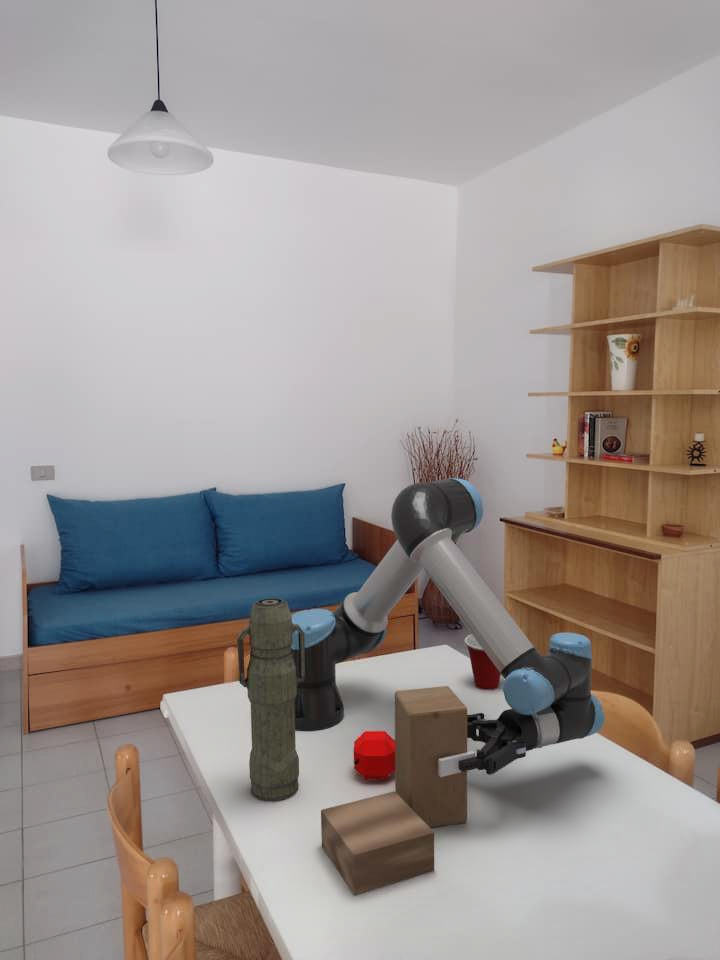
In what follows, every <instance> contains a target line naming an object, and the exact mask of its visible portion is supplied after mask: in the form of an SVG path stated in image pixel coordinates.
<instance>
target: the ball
mask: <svg viewBox="0 0 720 960" xmlns="http://www.w3.org/2000/svg"><path fill="white" fill-rule="evenodd" d="M353 765H354V766H353V770H355V771H356V772H357V773H358V774H359V775H360V776H361V777H362V778H363V779H364V780H387V779H388V778H389V777H390V776H391V775H392V774H393V773H394V772H395V738H393V737H392V735H390V734H389V733H388V732H387V731H385V730H365V731H363V732H362V733H361V734H360V735H359V736H358V737H357V738H356V739H355V740H354V742H353Z"/></svg>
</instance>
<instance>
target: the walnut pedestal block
mask: <svg viewBox="0 0 720 960" xmlns="http://www.w3.org/2000/svg"><path fill="white" fill-rule="evenodd" d="M320 823H321V824H320V826H321V827H320V828H321V831H320V832H321V847H322V849H323V851H324V852H325V853H326V854H327V856H328V858H329V859H330V861H331V863H332V864H333V865H334V867H335V868H336V870H337V871H338V873H339V874H340V876H341V877H342V879H343V880H344V882H345V883H346V885H347V886H348V887H349V889H350V890H351V892H352V893H353V896H358V895H360V894H364V893H368V892H369V891H373V890H377V889H380V888H383V887H385V886H389V885H393V884H396V883H400V882H402V881H406V880H408V879H411V878H415V877H419V876H422V875H426V874H428V873H430V872H434V871H435V832H434V831H433V830H432V829H431V827H429V826H428V825H427V824H426V823H425V822H424V821H423V820H422V819H421V818H420V817H419V816H418V815H417V814H416V813H415V812H414V811H413V810H412V809H411V808H410V807H409V806H408V805H407V804H406V803H405V802H404V801H403V799H402V798H401V797H400V796H399V795H398V794H397V793H396V792H395V790H393V791H390V792H386V793H382V794H378V795H375V796H370V797H367V798H363V799H359V800H353V801H352V802H351V801H350V802H347V803H343V804H342V803H341V804H338V805H335V806H331V807H327V808H323V809H320Z"/></svg>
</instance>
